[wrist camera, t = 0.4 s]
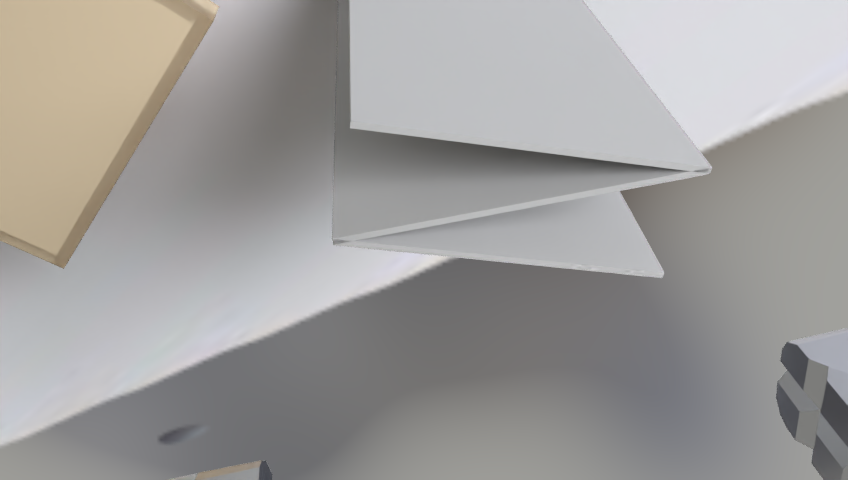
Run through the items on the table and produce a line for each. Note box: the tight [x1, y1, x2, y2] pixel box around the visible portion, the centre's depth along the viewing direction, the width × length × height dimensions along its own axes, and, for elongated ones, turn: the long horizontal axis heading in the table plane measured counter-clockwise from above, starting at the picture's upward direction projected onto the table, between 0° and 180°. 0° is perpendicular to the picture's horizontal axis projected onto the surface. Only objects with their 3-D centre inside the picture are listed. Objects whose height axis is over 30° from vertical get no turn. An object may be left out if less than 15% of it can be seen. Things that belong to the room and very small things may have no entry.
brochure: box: [332, 0, 712, 278], centre depth 42 cm, size 14×6×30 cm, turn 80°
